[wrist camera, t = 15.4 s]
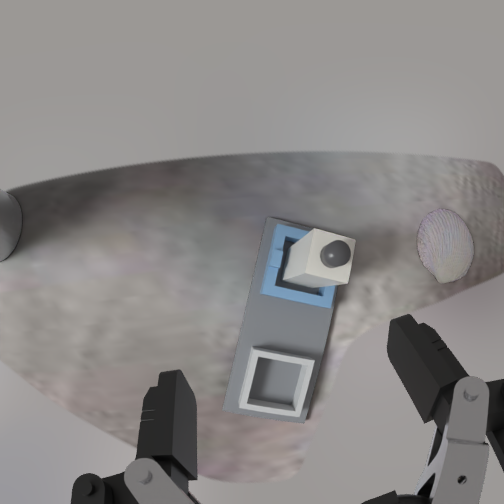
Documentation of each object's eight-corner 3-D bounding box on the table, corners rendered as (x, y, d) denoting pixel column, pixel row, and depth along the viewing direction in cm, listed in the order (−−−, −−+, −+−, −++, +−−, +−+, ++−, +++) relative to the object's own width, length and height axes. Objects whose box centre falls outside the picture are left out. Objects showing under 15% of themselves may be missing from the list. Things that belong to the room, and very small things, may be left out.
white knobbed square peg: (312, 288, 33) (356, 282, 21) (280, 280, 32) (311, 271, 21) (318, 256, 33) (364, 235, 22) (288, 248, 33) (320, 223, 21)
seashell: (418, 268, 32) (446, 190, 31) (399, 264, 37) (424, 195, 37) (475, 300, 32) (499, 228, 31) (453, 293, 37) (475, 228, 37)
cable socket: (302, 420, 31) (310, 433, 28) (222, 408, 31) (222, 420, 27) (344, 238, 34) (356, 232, 31) (266, 218, 34) (271, 209, 30)
